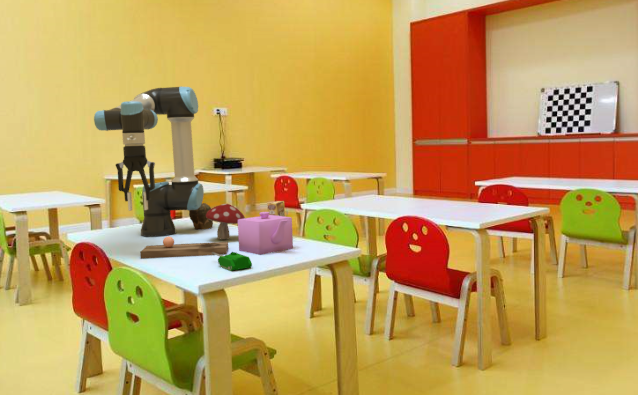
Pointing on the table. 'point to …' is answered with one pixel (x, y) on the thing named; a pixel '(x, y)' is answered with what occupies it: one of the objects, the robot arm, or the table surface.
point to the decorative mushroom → (224, 218)
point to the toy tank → (234, 261)
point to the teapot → (265, 234)
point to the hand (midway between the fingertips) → (138, 209)
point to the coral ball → (168, 241)
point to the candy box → (276, 208)
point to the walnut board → (184, 250)
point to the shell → (201, 217)
